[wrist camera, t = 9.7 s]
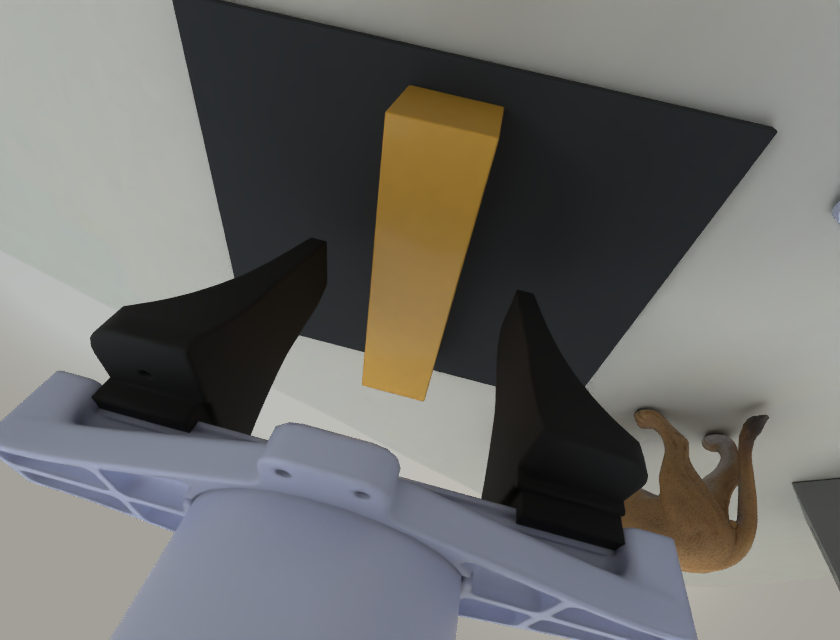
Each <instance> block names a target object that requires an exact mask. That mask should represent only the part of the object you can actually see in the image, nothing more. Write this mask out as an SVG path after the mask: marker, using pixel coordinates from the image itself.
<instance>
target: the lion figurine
mask: <svg viewBox="0 0 840 640" xmlns="http://www.w3.org/2000/svg"><path fill="white" fill-rule="evenodd" d="M634 418H635V421H636V423H637V425H638V426H639V427H640V428H643V429H654V430H655V431H657V432H658V433H659V435H660V436H661V438H662V440H663V443H664V446H665V453H664V458H663V462H662V466H661V470H660V474H659V484H660V494H659V496H657V495H654V494H652V493H650V492H648V491H646V490H644V489H642V488H641V489H640V490H638V491H637V492H636V493H634V494H633V495H632V496H630V497H629V498H628V499H626V500H625V501H624V505H625V511H626V513H625V516H623V517H621V521H622V527H623V528H629V527H632V528H638V529H642V530H646V531H649V532H653V533H657V534H660V535H664V536H668V537H671V538H672V539H673V540H674V542H675V546H676V550H677V554H678V559H679V563H680V567H681V571H685V572H690V573H709V572H713V571H718V570H723V569H726V568H729V567H731V566H733V565H735V564H737V563H738V562H739V561H741V560H742V559H743V558H744V557H745V556H746V554H747V553H748V552H749V550H750V548H751V546H752V544H753V541H754V538H755V534H756V529H757V497H756V489H755V480H754V473H753V466H752V449H753V444H754V441H755V439H756V437H757V436H758V435H759V434H760V433H761V431H762V429H763V427H764V425H765V423H766V421H767V420H768V419H769V416H768V415H758V416H752V417H750V418H749V419H747V420H746V422H745V423H744V424H743V428H742V430H741V432H740V435H739V446H738V449H737V446H736V444H735V443H734V441H733V440H732V439H731V438H730V437H728V436H725V435H719V434H716V435H708V436H706V437H705V438H704V439H703V440H702V445H703V447H704V448H705V449H706V450H709V451H711V452H718V453H719V454H720V456H721V459H720V462H719V464H718V466H717V467H716V468H715V469H714V470H713V471H712V472H711V473H710V474H708V475H707V476H705V477H704V478H703V479H701V478H700V476H699V475H698V474H697V472H696V471H695V469H694V468H693V466H692V464H691V462H690V459H689V442H688V440H687V439H686V438H685V437H684V436H683V435H682V434H681V433H679V432H678V431H677V430H676V429H675V428H674V427H673V426H672V425H671V424H670V423H669V422H668V421H667V420H666V419H665V418H664V417H663V416H662V415H661V414H660V413H658V412H656V411H654V410H648V409H645V410H639V411H637V412H636V413H635V414H634ZM737 486H738V512H737V521H733V520H729V514H728V507H729V503H730V498H731V495H732V492H733V491H734V489H735V488H736V487H737Z"/></svg>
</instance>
